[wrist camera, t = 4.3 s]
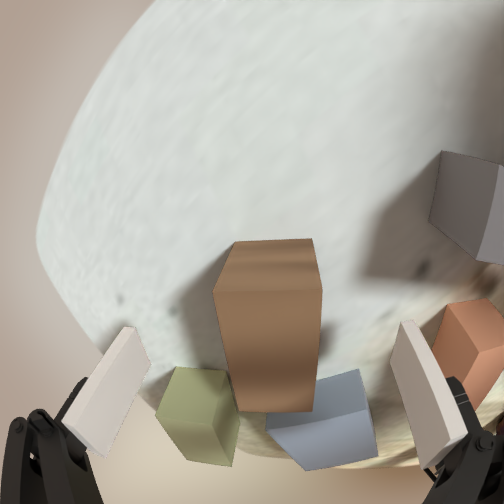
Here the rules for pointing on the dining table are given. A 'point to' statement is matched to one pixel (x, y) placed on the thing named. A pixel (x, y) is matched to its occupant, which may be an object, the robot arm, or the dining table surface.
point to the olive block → (200, 415)
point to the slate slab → (328, 425)
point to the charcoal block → (471, 205)
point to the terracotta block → (471, 346)
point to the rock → (500, 428)
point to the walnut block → (271, 323)
